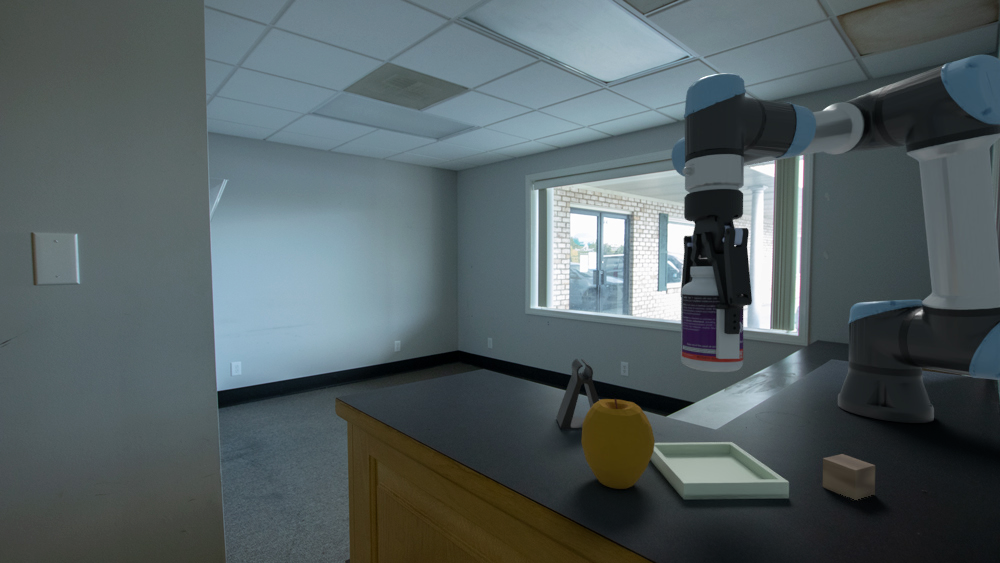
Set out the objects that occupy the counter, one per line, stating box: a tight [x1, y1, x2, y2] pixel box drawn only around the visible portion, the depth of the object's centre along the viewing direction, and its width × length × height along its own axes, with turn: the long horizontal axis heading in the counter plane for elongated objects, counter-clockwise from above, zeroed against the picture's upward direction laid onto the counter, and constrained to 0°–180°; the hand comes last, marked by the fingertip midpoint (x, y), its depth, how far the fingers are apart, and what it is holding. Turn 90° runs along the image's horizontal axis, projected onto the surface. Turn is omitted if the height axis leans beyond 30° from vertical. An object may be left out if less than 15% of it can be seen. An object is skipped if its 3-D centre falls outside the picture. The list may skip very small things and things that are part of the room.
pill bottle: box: [680, 266, 744, 373], centre depth 64 cm, size 8×8×14 cm
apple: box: [581, 397, 656, 490], centre depth 62 cm, size 10×10×12 cm
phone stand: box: [556, 358, 600, 430], centre depth 86 cm, size 9×6×12 cm, turn 90°
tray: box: [650, 441, 790, 500], centre depth 65 cm, size 14×14×2 cm
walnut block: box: [822, 453, 876, 501], centre depth 60 cm, size 4×4×4 cm
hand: (711, 352), depth 64 cm, fingers closed on pill bottle, 8 cm apart
